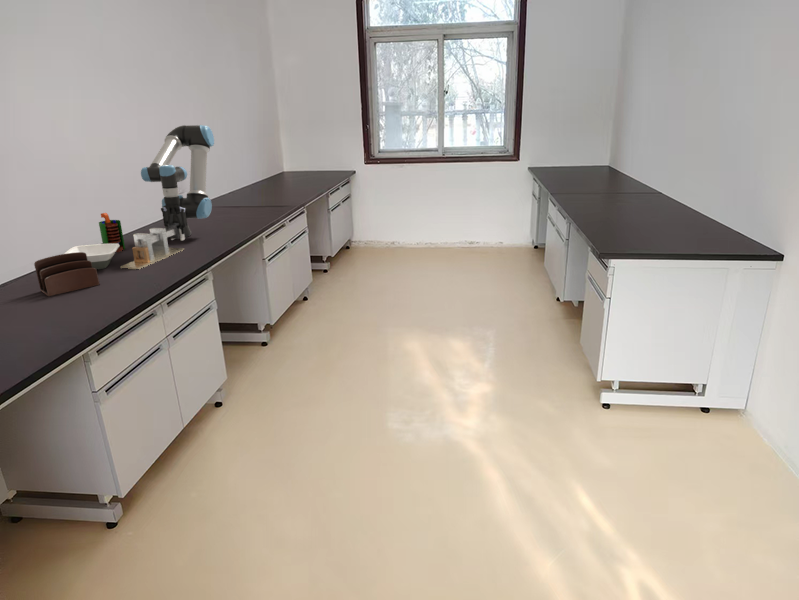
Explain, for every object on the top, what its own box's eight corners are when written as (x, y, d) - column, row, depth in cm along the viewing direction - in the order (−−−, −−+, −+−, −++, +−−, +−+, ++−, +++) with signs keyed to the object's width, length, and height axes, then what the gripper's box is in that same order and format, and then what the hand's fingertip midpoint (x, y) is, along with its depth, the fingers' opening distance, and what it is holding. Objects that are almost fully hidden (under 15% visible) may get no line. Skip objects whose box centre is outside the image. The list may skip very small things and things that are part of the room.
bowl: (62, 275, 244) (58, 257, 241) (76, 262, 265) (72, 245, 262) (115, 271, 250) (112, 254, 247) (125, 258, 270) (122, 242, 267)
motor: (114, 253, 279) (107, 215, 272) (99, 253, 281) (92, 215, 274) (127, 248, 288) (120, 211, 281) (113, 248, 290) (106, 211, 283)
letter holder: (40, 291, 224) (32, 259, 219) (91, 280, 238) (84, 249, 233) (48, 297, 218) (40, 263, 213) (100, 285, 231) (93, 253, 227)
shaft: (140, 249, 263) (138, 235, 260) (176, 235, 290) (174, 223, 287) (149, 250, 262) (147, 236, 259) (185, 236, 289) (183, 223, 286)
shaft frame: (120, 268, 254) (115, 239, 249) (167, 249, 287) (163, 223, 282) (139, 269, 252) (133, 240, 247) (184, 250, 285) (180, 224, 280)
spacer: (134, 261, 261) (132, 247, 258) (137, 260, 262) (134, 246, 260) (147, 262, 259) (145, 248, 257) (150, 261, 261) (147, 247, 259)
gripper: (151, 196, 277) (158, 240, 285) (182, 197, 274) (189, 242, 282) (160, 194, 284) (167, 237, 292) (191, 195, 280) (197, 238, 288)
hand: (178, 239), depth 287 cm, fingers closed on shaft, 5 cm apart
